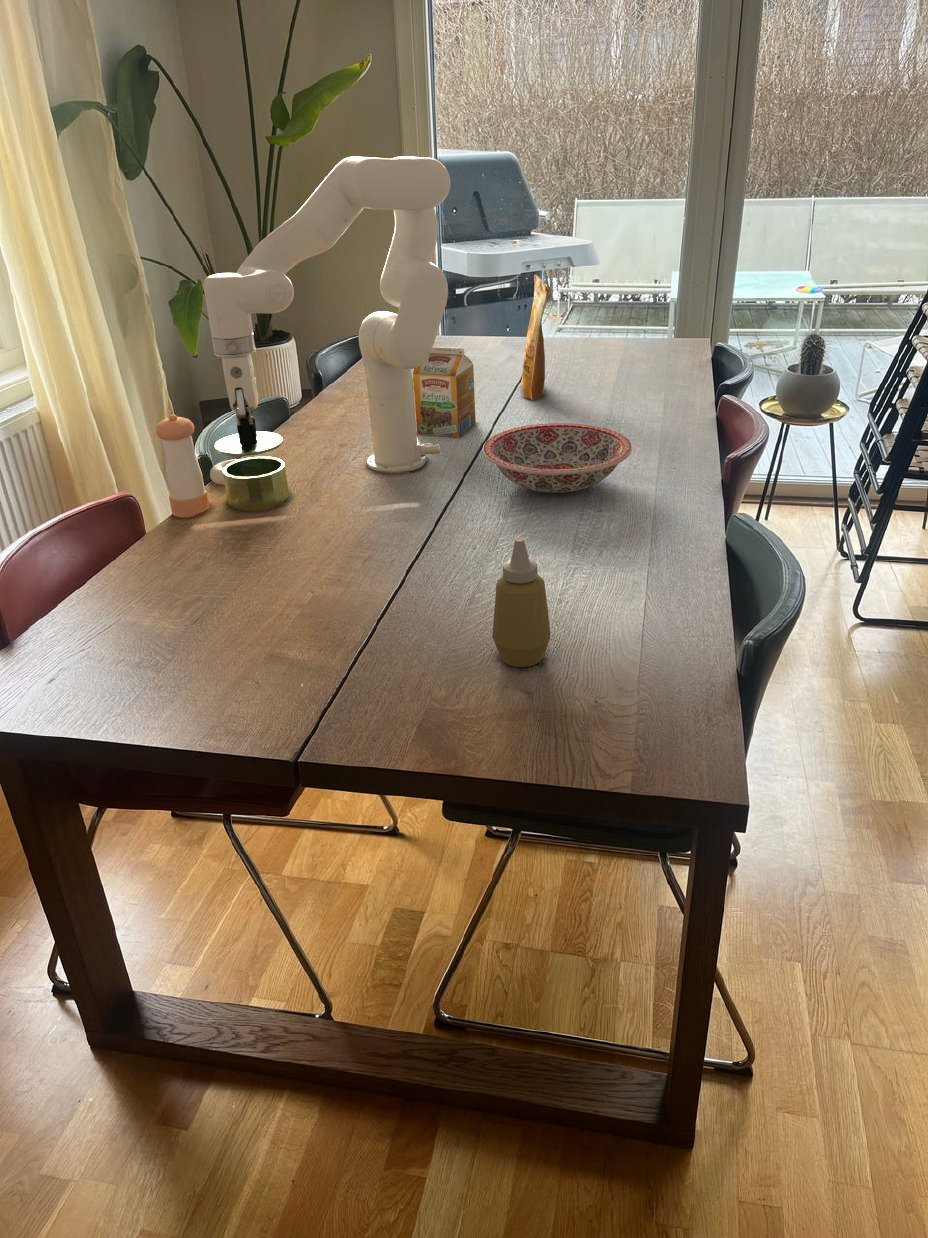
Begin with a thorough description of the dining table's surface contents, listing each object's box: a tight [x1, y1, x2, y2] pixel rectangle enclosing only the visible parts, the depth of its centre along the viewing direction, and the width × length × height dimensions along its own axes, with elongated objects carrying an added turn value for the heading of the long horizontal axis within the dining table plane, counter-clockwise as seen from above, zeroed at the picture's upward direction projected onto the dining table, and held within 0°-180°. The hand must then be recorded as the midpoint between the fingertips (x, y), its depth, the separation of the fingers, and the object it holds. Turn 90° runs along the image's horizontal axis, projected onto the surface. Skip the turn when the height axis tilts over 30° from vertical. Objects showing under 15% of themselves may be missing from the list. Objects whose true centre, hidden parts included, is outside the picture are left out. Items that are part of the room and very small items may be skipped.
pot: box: [222, 456, 290, 510], centre depth 188 cm, size 12×12×7 cm
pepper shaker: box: [155, 414, 210, 519], centre depth 182 cm, size 7×7×19 cm
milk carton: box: [412, 346, 477, 438], centre depth 220 cm, size 11×11×19 cm
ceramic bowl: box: [482, 422, 633, 494], centre depth 188 cm, size 29×29×8 cm
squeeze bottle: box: [491, 537, 551, 668], centre depth 129 cm, size 8×8×18 cm
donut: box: [209, 458, 243, 486], centre depth 200 cm, size 10×4×10 cm
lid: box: [214, 416, 284, 457], centre depth 183 cm, size 13×13×6 cm
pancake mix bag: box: [521, 273, 550, 401], centre depth 242 cm, size 7×19×28 cm, turn 177°
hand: (248, 440), depth 184 cm, fingers closed on lid, 2 cm apart
